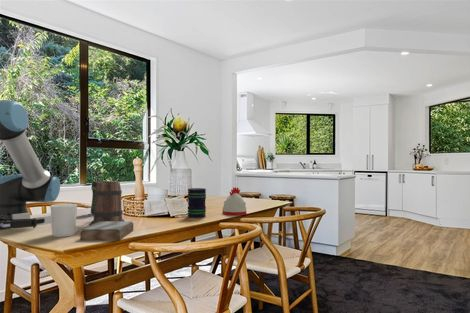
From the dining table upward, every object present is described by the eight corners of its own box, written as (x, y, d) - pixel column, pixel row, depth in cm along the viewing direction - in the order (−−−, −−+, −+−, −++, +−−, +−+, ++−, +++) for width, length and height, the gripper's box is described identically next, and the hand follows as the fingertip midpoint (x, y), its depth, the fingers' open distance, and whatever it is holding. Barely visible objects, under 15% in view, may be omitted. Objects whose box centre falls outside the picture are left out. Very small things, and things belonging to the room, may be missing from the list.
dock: (80, 239, 133) (80, 229, 133) (98, 230, 151) (98, 221, 151) (120, 240, 133) (120, 229, 133) (133, 230, 151) (133, 221, 151)
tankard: (132, 225, 164) (133, 182, 164) (96, 229, 152) (96, 183, 153) (112, 218, 181) (113, 180, 181) (78, 222, 170) (79, 181, 170)
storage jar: (184, 217, 187) (184, 189, 187) (191, 214, 196) (191, 188, 197) (202, 218, 184) (202, 189, 185) (208, 215, 194) (208, 188, 194)
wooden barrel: (94, 215, 192) (94, 181, 192) (89, 213, 197) (89, 180, 198) (111, 213, 198) (112, 180, 198) (105, 212, 204) (106, 180, 204)
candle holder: (66, 238, 136) (66, 207, 136) (44, 236, 138) (44, 206, 138) (82, 232, 146) (82, 204, 146) (61, 231, 148) (61, 203, 148)
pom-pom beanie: (251, 213, 204) (251, 187, 204) (235, 216, 194) (235, 188, 194) (234, 210, 213) (234, 186, 213) (217, 213, 203) (217, 187, 203)
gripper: (-42, 233, 121) (21, 224, 139) (-3, 242, 108) (60, 230, 127) (-42, 211, 121) (21, 205, 139) (-3, 217, 109) (61, 210, 127)
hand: (40, 217), depth 133 cm, fingers open, 13 cm apart
